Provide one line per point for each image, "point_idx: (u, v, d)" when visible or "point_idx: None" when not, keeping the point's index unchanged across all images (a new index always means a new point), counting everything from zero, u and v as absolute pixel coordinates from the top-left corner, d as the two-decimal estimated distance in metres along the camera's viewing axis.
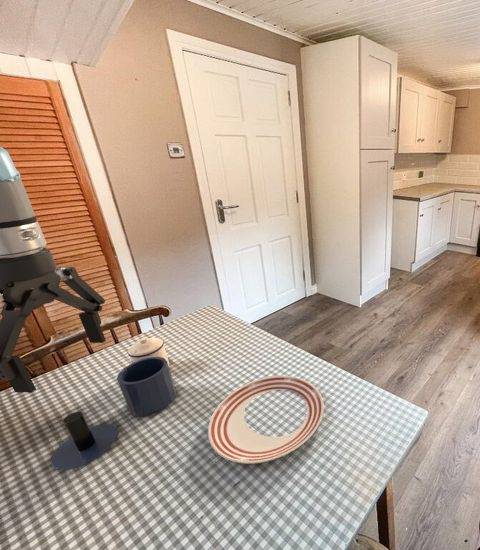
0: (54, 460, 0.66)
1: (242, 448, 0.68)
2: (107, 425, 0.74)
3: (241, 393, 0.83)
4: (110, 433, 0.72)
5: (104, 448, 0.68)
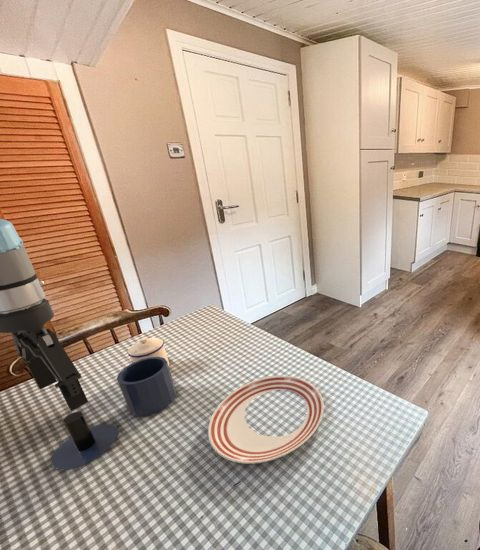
0: (54, 460, 0.66)
1: (242, 448, 0.68)
2: (107, 425, 0.74)
3: (241, 393, 0.83)
4: (110, 433, 0.72)
5: (104, 448, 0.68)
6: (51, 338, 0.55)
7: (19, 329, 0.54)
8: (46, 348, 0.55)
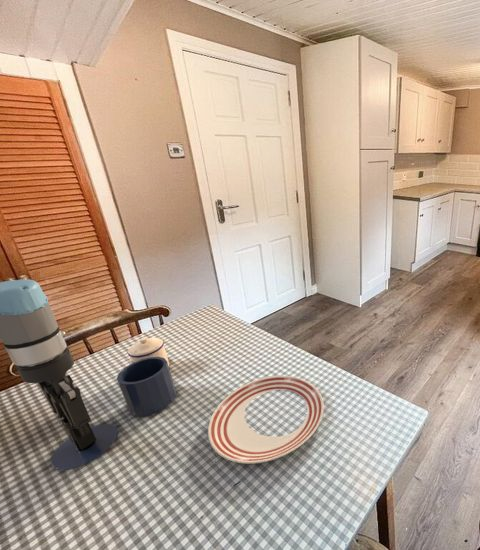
0: (54, 460, 0.66)
1: (242, 448, 0.68)
2: (107, 425, 0.74)
3: (241, 393, 0.83)
4: (109, 433, 0.72)
5: (104, 448, 0.68)
6: (75, 394, 0.61)
7: (44, 379, 0.58)
8: (69, 401, 0.60)
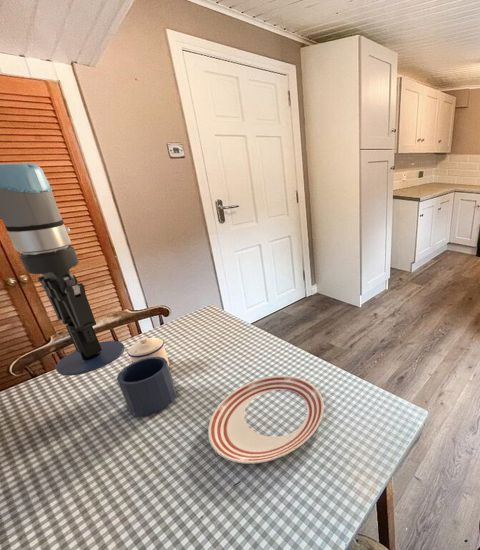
0: (58, 366, 0.64)
1: (242, 448, 0.68)
2: (113, 341, 0.72)
3: (241, 393, 0.83)
4: (115, 347, 0.70)
5: (110, 358, 0.66)
6: (80, 289, 0.58)
7: (47, 270, 0.56)
8: (74, 297, 0.58)
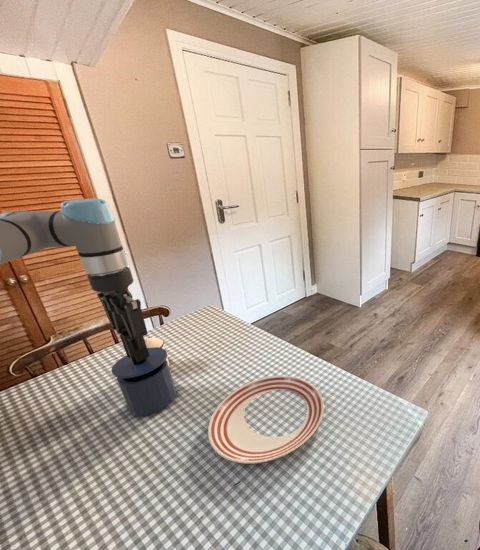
0: (114, 370, 0.73)
1: (242, 448, 0.68)
2: (155, 348, 0.82)
3: (241, 393, 0.83)
4: (159, 353, 0.80)
5: (157, 363, 0.76)
6: (137, 305, 0.68)
7: (111, 289, 0.66)
8: (132, 311, 0.68)
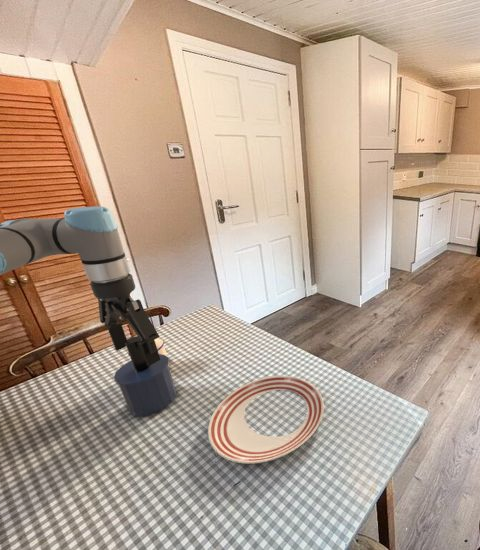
0: (116, 377, 0.74)
1: (242, 448, 0.68)
2: None
3: (241, 393, 0.83)
4: (161, 360, 0.80)
5: (159, 370, 0.77)
6: (137, 304, 0.68)
7: (113, 296, 0.67)
8: (134, 311, 0.67)
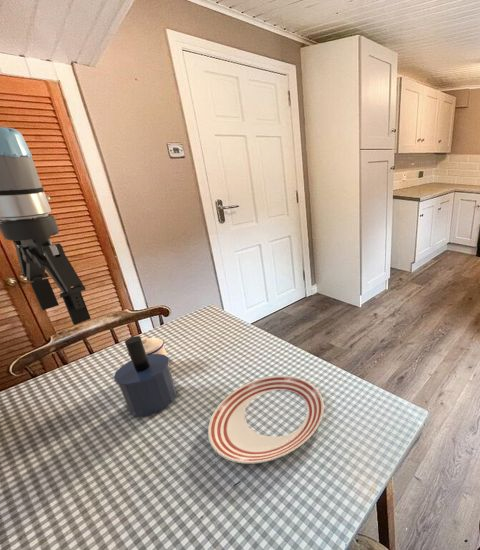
0: (116, 377, 0.74)
1: (242, 448, 0.68)
2: (157, 354, 0.83)
3: (241, 393, 0.83)
4: (161, 360, 0.80)
5: (159, 370, 0.77)
6: (57, 248, 0.57)
7: (26, 237, 0.56)
8: (53, 257, 0.57)
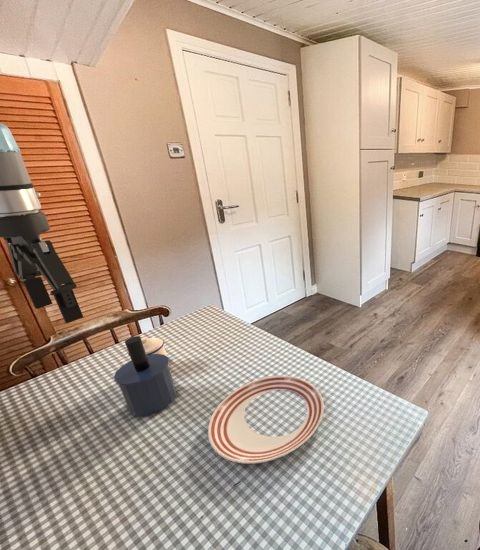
0: (116, 377, 0.74)
1: (242, 448, 0.68)
2: (157, 354, 0.83)
3: (241, 393, 0.83)
4: (161, 360, 0.80)
5: (159, 370, 0.77)
6: (47, 245, 0.56)
7: (16, 234, 0.55)
8: (42, 254, 0.56)
